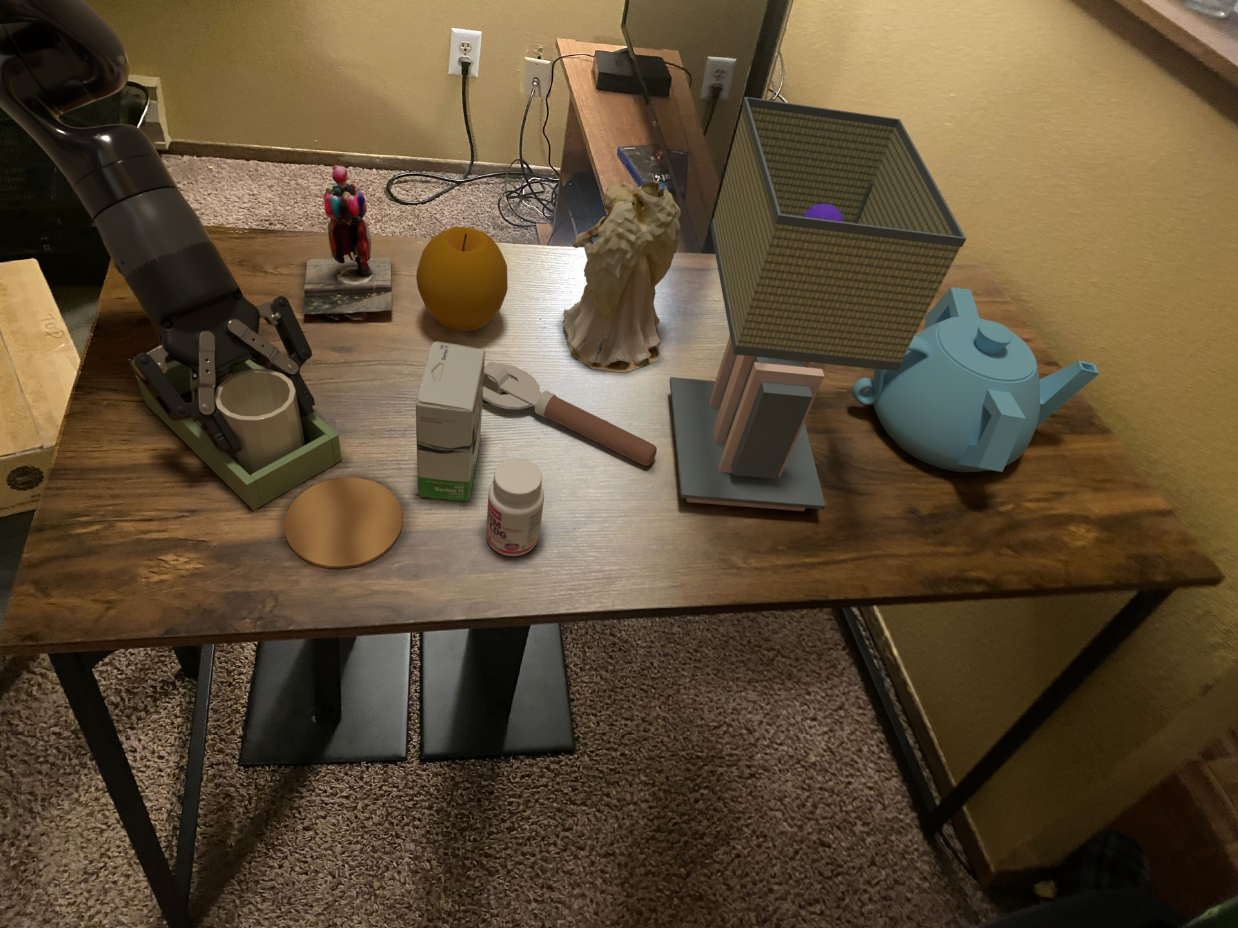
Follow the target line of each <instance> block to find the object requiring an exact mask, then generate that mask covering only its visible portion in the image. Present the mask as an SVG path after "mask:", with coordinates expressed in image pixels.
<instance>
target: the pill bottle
mask: <svg viewBox="0 0 1238 928" xmlns="http://www.w3.org/2000/svg"><path fill="white" fill-rule="evenodd" d="M542 483H543V475H542V471H541V469H540V468H539V467H538V465H537V464H536V463H534V462H532V461H530V460H528V459H526V458H521V457H513V458H509V459H506V460H504V461H502V462H500V464H498V465H497V467H496V468H495V469H494V473H493V481H492V482H491V484H490V486H489V488H488V495H487V512H486V524H485V525H486V527H485V537H486V540H487V543H488V545H489V546H490V547H491V548H492V550H494V551H496V552H497V553H499V554H501V555H504V556H508V557H518V556H523V555H526V554H527V553H529V552H530V551H532V550H533V549H534V548H535V546H536V545H537V543H538V541H539V538H540V533H541V532H540V531H541V524H542V518H543V509H544V503H545V502H544V501H545V491H544V488H543V486H542V485H543V484H542Z"/></svg>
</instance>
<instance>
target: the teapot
mask: <svg viewBox="0 0 1238 928" xmlns="http://www.w3.org/2000/svg"><path fill="white" fill-rule="evenodd" d="M901 362H902V364H901V366H900V368H899V369H898V371H891V370H881V369H873V376H872V378H869V377H862V378H859V379H858V380H856V381H855V383H854V384H853V386H852V389H851V394H852V397H853V399H854V400H855V401H856V402H857V403H860V404H861V405H864V406H870V405H873V408H874V411H875V414H876V416H877V418H878V420H879V422H880V424H881V426H882V427H883V429H884V431H885V432H886V434H887V435H888V437H889V438H890V439H891V440H892V441H893V442H894V443H895V444H896V445H897V446H898V447H899V448H900V449H902V450H903V451H905V453H907V454H909V455H910V456H912V457H913V458H915V459H917V460H918V461H921V462H923V463H924V464H925V463H926V464H927V465H930V466H933V467H935V468H937V469H942V470H946V471H950V472H956V473H957V472H959V473H978V472H986V471H987V472H988V471H995V472H1001V473H1002V472H1004V470H1005V467H1006V466H1008V465H1010V464H1012V463H1013V462H1015V461H1017V460H1018V459H1019V458H1020V457H1021V456H1022V455H1023V454H1024V453H1025V451H1026V449H1027V448H1028V446H1029V444H1030V443H1031V441H1032V439H1033V436H1034V435H1035V431H1036V429H1037V428H1038V427H1039V426H1041V424H1043V423H1044V422H1045V421H1046V420H1047V419H1049V418H1050V417H1051V416H1052V415H1053V414H1054V413H1055V412H1057V410H1059V409H1060V408H1061V407H1062V406H1064V405H1065V404H1066V403H1067V402H1068V401H1070V400H1071V399H1072V398H1073V397H1074V396H1075V395H1076V394H1077V393H1079V392H1080V391H1081V390H1082V389H1083V388H1085V387H1086V386H1087V385H1088V384H1090V383H1091V381H1093V380H1094V379H1095V378H1096V377H1097V376H1098V375H1100V371H1099V370H1098V367H1097V365H1096V364H1095V363H1092V362H1087V361H1083V360H1076V362H1074V363H1072V364H1069V365H1067V366H1065V367H1063V368H1061V369H1058V370H1057V371H1055V372H1053V373H1051V374H1048V375H1047V376H1043V377H1042V378H1040V372H1039V368H1038V363H1037V359H1036V357H1035V354H1034V353H1033V351H1032V349H1031V348H1030V347H1029V345H1028V344H1027V343H1026V341H1024V340H1023V338H1021V337H1020V336H1019V335H1018V334H1016V333H1015V332H1013V331H1012V330H1011V329H1009V328H1008V327H1007V326H1005V325H1004V324H1002V323H1000V322H997V321H995V320H988V319H984V318H981V317H980V316H979V312H978V309H977V305H976V303H975V298H974V296H973V292H972V290H971V289H970V288H961V287H955V286H950V287H949V288H948V289H947V290H946V292H945V293H944V294H943V295H942V296H941V298H940V299H939V300H938V301H937V303H935V304H934V306H933V307H932V308H931V309H930V310H929V312H928V313H926V315H925V317H924V329H922V330H920V331H919V332H916V334H915V336H914V338H913V340H912V342H911V344H910V346H909V348H908V349H907V351H906V353H905V355H904V357H903V359H902V361H901ZM866 388H869V389H866ZM864 389H866V390H864Z"/></svg>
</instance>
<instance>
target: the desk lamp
mask: <svg viewBox="0 0 1238 928" xmlns="http://www.w3.org/2000/svg"><path fill="white" fill-rule="evenodd" d="M741 106H742V108H741V112H740V116H739V120H738V123H737V127H736V130H735V135H734V139H733V143H732V146H731V150H730V154H729V158H728V160H727V161H728V162H727V165H726V169H725V172H724V177H723V180H722V184H721V189H720V192H719V196H718V199H717V204H716V208H715V211H714V214H713V215H714V216H713V218H712V219H711V223H710V225H709V226H710V227H709V228H710V232H711V233H710V234H711V239H712V243H713V249H714V255H715V261H716V266H717V271H718V277H719V282H720V287H721V293H722V299H723V304H724V310H725V315H726V320H727V327H728V331H729V337H728V340H727V343H726V345H725V350H724V353H723V356H722V359H721V362H720V366H719V369H718V371H717V375H716V378H715V380H707V379H698V378H697V379H696V378H685V377H676V376H675V377H674V376H670V377H669V389H670V399H671V409H672V410H671V411H672V417H673V418H672V419H673V421H672V422H673V429H674V430H673V431H674V440H675V449H676V460H677V468H678V471H677V472H678V482H679V490H680V498H681V499H686V503H694V504H697V503H698V504H706V505H707V504H708V505H721V506H733V507H747V508H759V509H771V510H772V509H773V510H783V511H795V512H805V510H806V509H813V510H814V509H816V510H825V508H826V503H825V498H824V495H823V491H822V487H821V482H820V479H819V475H818V471H817V467H816V464H815V463H816V462H815V459H814V454H813V451H812V447H811V443H810V438H809V434H808V431H807V430H808V429H807V427H806V423H805V422H806V419H807V417H808V416H809V413H810V411H811V408H812V406H813V404H814V401H815V399H816V396H817V394H818V392H819V389H820V387H821V385H822V383H823V380H824V378H825V374H824V371H823V368H816V367H815V368H814V367H809V365H810V363H814V364H824V365H834V366H843V367H852V368H863V369H872V370H874V369H881V370H891V371H898V369H899V368H900V366H901V364H902V362H901V361H902V359H903V357H904V355H905V353H906V351H907V349H908V348H909V346H910V344H911V342H912V340H913V338H914V336H915V334H917V333H918V330H919V328H920V327H921V324H922V322H923V321H924V320H925V316H926V315H927V314H928V313H927V312H928V311H929V309H930V307H931V305H932V303H933V302H934V299H935V298H936V296H937V294H938V292H939V290H940V288H941V286H942V284H943V282H944V280H945V279H946V276H947V275H948V272H949V271H950V269H951V267H952V265H953V263H954V261H955V259H956V257H957V255H958V253H959V251H960V249H961V248H963V247H964V245H965V242H966V241H967V237H966V235H965V233H964V232H963V230H962V229H961V226H960V224H959V223H958V220H957V219H956V217H955V215H954V214H953V212H952V210H951V208H950V207H949V205H948V203H947V200H945V197H944V196H943V194H942V192H941V190H940V189H939V187H938V184H937V183H936V182H935V179H934V178H933V176H932V174H931V172H930V170H929V169H928V167H927V165H926V163H925V161H924V160H923V158H922V156H921V154H920V152H919V151H918V149H917V147H916V145H915V143H914V142H913V140H912V138H911V136H910V135H909V133H908V131H907V129H906V127H905V125H904V123H903V121H902V120H901V119H900V118H896V117H889V116H882V115H875V114H867V113H861V112H856V111H855V112H854V111H846V110H839V109H832V108H826V107H819V106H812V105H806V104H799V103H798V104H797V103H791V102H784V101H777V100H770V99H764V98H757V97H749V96H744V97H743V101H742V103H741Z"/></svg>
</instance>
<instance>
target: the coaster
mask: <svg viewBox="0 0 1238 928" xmlns="http://www.w3.org/2000/svg"><path fill="white" fill-rule="evenodd" d="M403 512H404V511H403V508H402V506H401V503H400V501H399V500H398V498H397V497H396V496H395V494H394V492H392V491H390V489H389V488H387V487H386V486H384V485H382V484H380V483H379V482H377V481H373V480H370V479H365V478H361V477H350V476H349V477H347V476H346V477H336V478H332V479H327V480H324V481H320V482H318V483H316V484H314V485H312V486H311V487H309V488H307V489H306V490H304V491H302V493H300V494H299V495H298V496H297V497H296V498H295V499H294V500H293V501H292V502H291V504H290V506H289V507H288V509H287V511H286V513H285V516H284V522H283V532H284V537H285V539H286V542H287V544H288V546H289V547H290V549H291V550H292V551H293V552H294V553H295V554H296V556H298V557H299V558H300V559H302V560H304V561H305V562H307V563H309V564H312V565H315V566H317V567H320V568H326V569H334V570H335V569H338V570H339V569H340V570H341V569H352V568H356V567H360V566H364V565H366V564H369V563H371V562H373V561H375V560H378V559H379V558H380V557H382V556H383V555H385V554H386V553H387V552H388V551H390V549H391V548H392V547H393V546H394V545H395V544H396V542H397V541H398V539H399V537H400V535H401V533H402V531H403V530H402V529H403V524H404V513H403Z"/></svg>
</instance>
